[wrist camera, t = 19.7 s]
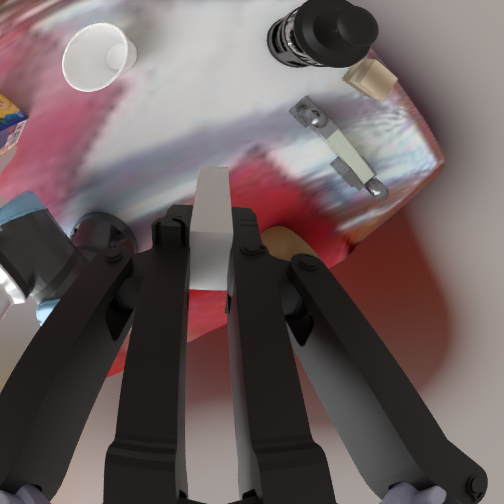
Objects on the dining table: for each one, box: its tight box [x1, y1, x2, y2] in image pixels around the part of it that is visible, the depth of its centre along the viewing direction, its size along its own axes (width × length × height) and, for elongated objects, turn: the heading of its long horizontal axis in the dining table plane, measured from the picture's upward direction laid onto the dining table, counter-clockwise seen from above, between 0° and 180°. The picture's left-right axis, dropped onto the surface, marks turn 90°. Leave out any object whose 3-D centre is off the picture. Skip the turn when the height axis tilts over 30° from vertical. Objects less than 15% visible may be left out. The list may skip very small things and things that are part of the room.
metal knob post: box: [331, 157, 389, 201], centre depth 46 cm, size 8×6×9 cm
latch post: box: [289, 96, 328, 128], centre depth 39 cm, size 4×4×8 cm
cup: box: [62, 22, 137, 92], centre depth 29 cm, size 10×10×11 cm
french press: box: [267, 0, 378, 68], centre depth 26 cm, size 12×9×23 cm
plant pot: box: [260, 226, 323, 262], centre depth 52 cm, size 15×15×16 cm
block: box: [342, 59, 397, 101], centre depth 36 cm, size 5×5×7 cm
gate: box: [308, 117, 374, 184], centre depth 44 cm, size 13×3×6 cm, turn 46°
